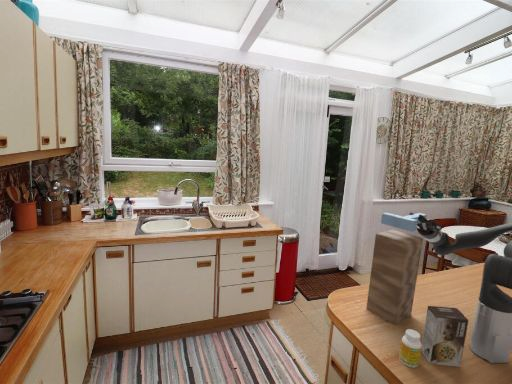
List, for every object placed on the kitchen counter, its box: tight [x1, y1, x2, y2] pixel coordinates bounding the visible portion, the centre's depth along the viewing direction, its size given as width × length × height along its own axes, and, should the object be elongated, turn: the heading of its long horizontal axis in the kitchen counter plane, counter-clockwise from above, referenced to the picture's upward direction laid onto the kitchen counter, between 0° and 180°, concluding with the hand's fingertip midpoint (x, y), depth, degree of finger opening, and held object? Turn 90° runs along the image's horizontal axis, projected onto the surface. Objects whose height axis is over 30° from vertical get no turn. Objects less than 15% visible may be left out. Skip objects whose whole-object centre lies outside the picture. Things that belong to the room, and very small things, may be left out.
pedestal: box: [366, 229, 424, 325], centre depth 112 cm, size 12×12×32 cm
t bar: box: [380, 212, 427, 233], centre depth 112 cm, size 20×12×4 cm, turn 125°
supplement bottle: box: [398, 328, 422, 368], centre depth 88 cm, size 5×5×10 cm
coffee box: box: [421, 305, 469, 368], centre depth 89 cm, size 9×6×16 cm
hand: (415, 215), depth 114 cm, fingers closed on t bar, 3 cm apart
